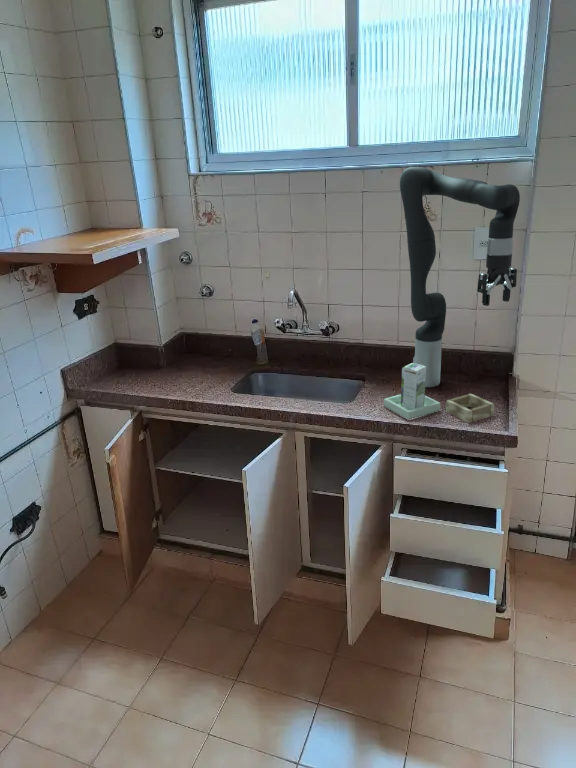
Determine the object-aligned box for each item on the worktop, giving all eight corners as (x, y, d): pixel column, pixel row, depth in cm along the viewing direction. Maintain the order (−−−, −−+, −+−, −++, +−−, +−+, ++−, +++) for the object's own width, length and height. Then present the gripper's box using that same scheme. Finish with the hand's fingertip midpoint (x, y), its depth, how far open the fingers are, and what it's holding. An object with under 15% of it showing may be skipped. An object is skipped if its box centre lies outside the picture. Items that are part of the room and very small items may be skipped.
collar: (445, 411, 190) (446, 400, 189) (469, 404, 195) (470, 393, 193) (468, 423, 182) (469, 411, 180) (493, 415, 186) (494, 403, 184)
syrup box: (409, 402, 197) (410, 362, 192) (424, 406, 194) (426, 365, 188) (400, 407, 194) (401, 367, 188) (415, 412, 190) (417, 370, 184)
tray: (383, 407, 196) (384, 398, 195) (414, 398, 202) (414, 390, 201) (408, 420, 186) (408, 412, 184) (440, 411, 191) (440, 402, 190)
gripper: (507, 248, 188) (503, 297, 194) (473, 253, 182) (470, 304, 188) (525, 250, 181) (521, 302, 187) (491, 256, 176) (487, 309, 181)
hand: (495, 303), depth 187 cm, fingers open, 8 cm apart
